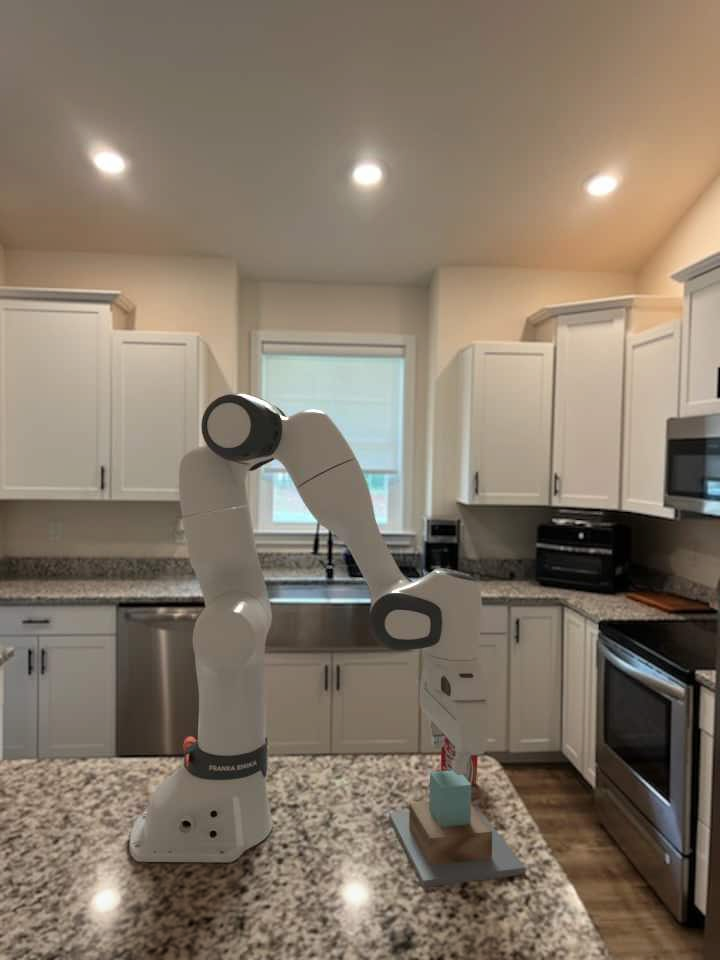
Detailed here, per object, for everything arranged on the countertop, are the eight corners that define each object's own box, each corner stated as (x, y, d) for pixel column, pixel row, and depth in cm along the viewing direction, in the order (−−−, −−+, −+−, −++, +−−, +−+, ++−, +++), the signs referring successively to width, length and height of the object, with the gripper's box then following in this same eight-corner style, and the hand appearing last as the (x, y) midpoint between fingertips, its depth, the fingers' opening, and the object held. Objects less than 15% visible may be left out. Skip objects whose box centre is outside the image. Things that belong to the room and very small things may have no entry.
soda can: (480, 792, 110) (481, 728, 110) (442, 790, 110) (444, 727, 110) (473, 774, 117) (474, 714, 117) (438, 773, 117) (439, 713, 118)
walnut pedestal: (429, 865, 86) (430, 838, 86) (409, 827, 96) (409, 803, 96) (491, 858, 88) (492, 831, 88) (465, 821, 98) (466, 797, 98)
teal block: (440, 827, 89) (441, 787, 89) (429, 809, 94) (430, 772, 94) (470, 823, 90) (471, 784, 90) (458, 806, 95) (458, 769, 95)
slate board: (423, 887, 83) (423, 880, 83) (389, 818, 100) (389, 812, 100) (525, 874, 86) (525, 867, 86) (475, 809, 104) (475, 804, 104)
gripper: (412, 653, 102) (408, 732, 102) (457, 693, 82) (453, 791, 82) (446, 653, 104) (442, 731, 103) (498, 692, 84) (494, 789, 83)
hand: (447, 758), depth 92 cm, fingers open, 8 cm apart
